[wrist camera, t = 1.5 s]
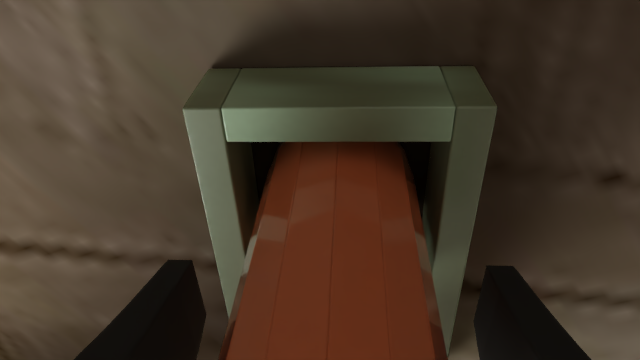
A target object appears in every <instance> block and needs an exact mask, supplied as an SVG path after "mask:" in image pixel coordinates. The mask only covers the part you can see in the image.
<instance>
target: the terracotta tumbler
mask: <svg viewBox="0 0 640 360" xmlns="http://www.w3.org/2000/svg"><path fill="white" fill-rule="evenodd" d="M218 360H448V358H447V352H446V347H445V342H444V336H443V331H442V326H441V320H440V315H439V310H438V304H437V299H436V294H435V288H434V283H433V278H432V272H431V267H430V262H429V256H428V251H427V246H426V240H425V235H424V230H423V225H422V219H421V214H420V209H419V203H418V198H417V193H416V187H415V182H414V177H413V172H412V170H411V168H410V164H409V160H408V157H407V154H406V152H405V150H404V148H403V147H402V145H401V144H400V143H399V142H281V144H280V145H279V147H278V148H277V150H276V153H275V155H274V158H273V161H272V165H271V167H270V169H269V171H268V174H267V178H266V182H265V186H264V189H263V193H262V197H261V201H260V204H259V208H258V212H257V216H256V220H255V223H254V227H253V231H252V235H251V238H250V242H249V246H248V250H247V253H246V257H245V261H244V265H243V268H242V272H241V276H240V280H239V284H238V287H237V291H236V295H235V299H234V302H233V306H232V310H231V314H230V317H229V321H228V325H227V329H226V332H225V336H224V340H223V344H222V348H221V351H220V355H219V359H218Z"/></svg>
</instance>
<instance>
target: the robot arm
mask: <svg viewBox="0 0 640 360" xmlns="http://www.w3.org/2000/svg"><path fill="white" fill-rule="evenodd" d="M205 318H206V311H205V307H204V304H203V300H202V296H201V292H200V288H199V285H198V281H197V277H196V273H195V269H194V266H193V262H192V260H168V261H167V262H166V263H165V264H164V265H163V266H162V267H161V268H160V269H159V270H158V271H157V273H156V274H155V275H154V276H153V277H152V278H151V279H150V280H149V282H148V283H147V284H146V285H145V286H144V287H143V288H142V289H141V290H140V292H139V293H138V294H137V295H136V296H135V297H134V298H133V299H132V300H131V302H130V303H129V304H128V305H127V306H126V307H125V308H124V309H123V310H122V311H121V312H120V313H119V314H118V315H117V316H116V318H115V319H114V320H113V321H112V322H111V323H110V324H109V325H108V326H107V327H106V328H105V329H104V330H103V331H102V332H101V333H100V334H99V335H98V336H97V337H96V338H95V339H94V340H93V341H92V342H91V343H90V344H89V345H88V346H87V347H86V348H85V349H84V350H83V351H82V352H81V353H80V354H79V355H78V356H77V357H76V358H75V359H74V360H196V358H197V355H198V351H199V347H200V342H201V338H202V333H203V328H204V323H205ZM474 327H475V333H476V340H477V346H478V351H479V357H480V360H591V359H590V358H589V357H588V355H587V354H586V353H585V352H584V351H583V350H582V349H581V348H580V347H579V345H578V344H577V343H576V342H575V341H574V340H573V338H572V337H571V336H570V335H569V334H568V333H567V332H566V330H565V329H564V328H563V327H562V326H561V325H560V323H559V322H558V321H557V320H556V319H555V317H554V316H553V315H552V314H551V313H550V311H549V310H548V309H547V308H546V306H545V305H544V304H543V303H542V302H541V300H540V299H539V298H538V297H537V295H536V294H535V293H534V291H533V290H532V289H531V288H530V286H529V285H528V284H527V283H526V281H525V280H524V279H523V277H522V276H521V275H520V274H519V272H518V271H517V270H516V269H515V268H514V267H513V266H486V271H485V275H484V279H483V283H482V288H481V292H480V296H479V300H478V305H477V309H476V313H475V317H474Z"/></svg>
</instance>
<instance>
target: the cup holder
mask: <svg viewBox="0 0 640 360" xmlns="http://www.w3.org/2000/svg"><path fill="white" fill-rule="evenodd" d="M182 110H183V114H184V119H185V123H186V128H187V132H188V137H189V141H190V146H191V150H192V155H193V159H194V164H195V168H196V173H197V177H198V182H199V186H200V191H201V196H202V200H203V205H204V209H205V214H206V218H207V223H208V227H209V232H210V236H211V241H212V245H213V250H214V254H215V259H216V263H217V268H218V272H219V277H220V281H221V286H222V290H223V295H224V299H225V304H226V308H227V313H228V317H230V314H231V310H232V306H233V302H234V299H235V295H236V291H237V287H238V284H239V280H240V276H241V272H242V268H243V265H244V261H245V257H246V253H247V250H248V246H249V242H250V238H251V235H252V231H253V227H254V223H255V220H256V216H257V212H258V208H259V198H258V191H257V183H256V176H255V169H254V161H253V154H252V146H251V142H431V147H430V156H429V164H428V173H427V181H426V190H425V199H424V207H423V216H422V225H423V230H424V235H425V240H426V246H427V251H428V256H429V262H430V267H431V272H432V278H433V283H434V288H435V294H436V299H437V304H438V310H439V315H440V320H441V326H442V331H443V336H444V342H445V347H446V352H447V358H448V353H449V348H450V343H451V338H452V333H453V328H454V323H455V318H456V313H457V308H458V303H459V298H460V293H461V288H462V283H463V278H464V273H465V268H466V263H467V258H468V253H469V248H470V243H471V238H472V233H473V228H474V223H475V218H476V213H477V208H478V203H479V198H480V193H481V188H482V183H483V178H484V173H485V168H486V163H487V158H488V153H489V148H490V143H491V138H492V133H493V128H494V123H495V118H496V113H497V105H496V104H495V102H494V100H493V98H492V96H491V95H490V93H489V91H488V89H487V88H486V86H485V84H484V82H483V81H482V79H481V77H480V75H479V74H478V72H477V70H476V68H475V67H474V66H442V67H440V68H439V66H402V67H313V68H242V69H239V68H232V69H208V71H207V72H206V74H205V75H204V77H203V78H202V80H201V81H200V83H199V84H198V86H197V87H196V89H195V90H194V92H193V93H192V95H191V96H190V98H189V99H188V101H187V102H186V104H185V105H184V107H183V109H182Z"/></svg>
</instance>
